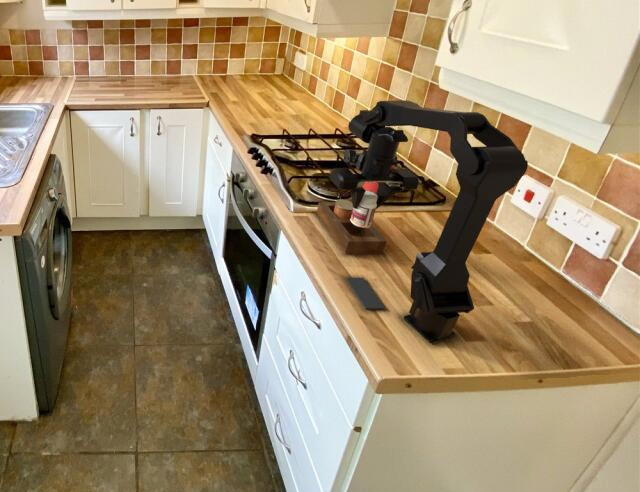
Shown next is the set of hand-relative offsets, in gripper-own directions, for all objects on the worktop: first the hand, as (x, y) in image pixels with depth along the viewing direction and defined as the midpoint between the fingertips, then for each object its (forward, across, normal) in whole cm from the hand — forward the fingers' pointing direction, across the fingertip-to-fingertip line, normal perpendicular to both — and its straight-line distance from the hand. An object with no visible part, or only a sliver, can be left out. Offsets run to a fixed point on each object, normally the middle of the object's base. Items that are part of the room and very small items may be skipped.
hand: (364, 207), depth 103 cm
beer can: (+11, -18, -24) cm, 32 cm away
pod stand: (+11, 0, -4) cm, 12 cm away
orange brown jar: (+11, 0, -8) cm, 13 cm away
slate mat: (+11, +7, +18) cm, 22 cm away
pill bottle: (+5, 0, 0) cm, 5 cm away
